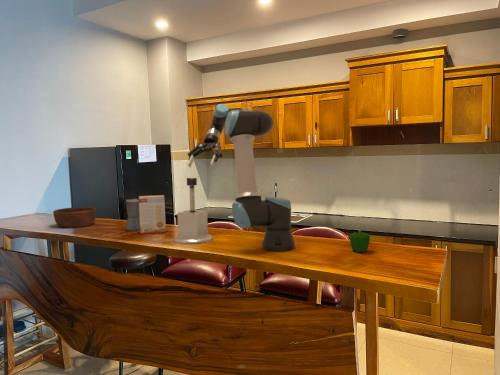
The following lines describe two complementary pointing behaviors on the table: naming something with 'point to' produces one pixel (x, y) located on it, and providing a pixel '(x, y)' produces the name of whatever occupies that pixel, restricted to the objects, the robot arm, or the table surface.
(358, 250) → the bell pepper
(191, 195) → the plunger
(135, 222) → the moka pot
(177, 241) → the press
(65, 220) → the wooden bowl
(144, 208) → the cracker box
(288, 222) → the robot arm
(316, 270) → the table surface
